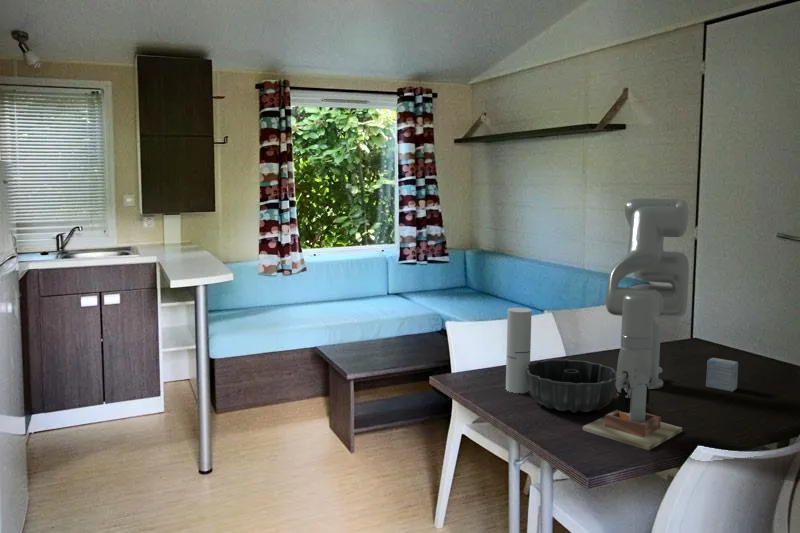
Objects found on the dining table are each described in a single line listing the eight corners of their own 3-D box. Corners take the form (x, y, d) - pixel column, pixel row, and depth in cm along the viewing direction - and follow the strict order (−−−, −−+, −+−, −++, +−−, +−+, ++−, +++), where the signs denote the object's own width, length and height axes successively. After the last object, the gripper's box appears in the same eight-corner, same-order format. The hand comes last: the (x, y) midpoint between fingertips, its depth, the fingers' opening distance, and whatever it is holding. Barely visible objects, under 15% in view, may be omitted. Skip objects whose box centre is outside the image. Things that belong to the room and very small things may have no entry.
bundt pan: (541, 384, 215) (542, 353, 214) (627, 398, 202) (628, 365, 200) (510, 409, 193) (510, 374, 191) (604, 426, 179) (605, 389, 178)
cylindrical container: (529, 394, 205) (531, 312, 202) (505, 392, 207) (507, 311, 203) (529, 387, 212) (531, 308, 209) (506, 385, 214) (508, 307, 210)
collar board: (617, 413, 188) (618, 399, 188) (682, 431, 175) (682, 416, 175) (582, 430, 176) (583, 415, 176) (648, 450, 163) (649, 434, 163)
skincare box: (618, 423, 178) (620, 379, 177) (633, 422, 179) (635, 378, 177) (629, 432, 172) (631, 386, 171) (645, 431, 173) (647, 385, 171)
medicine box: (737, 389, 211) (739, 361, 210) (732, 392, 208) (734, 364, 206) (710, 383, 216) (712, 357, 215) (705, 386, 213) (707, 359, 212)
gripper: (639, 334, 181) (636, 396, 184) (605, 345, 170) (602, 411, 172) (666, 339, 176) (663, 403, 178) (633, 350, 164) (630, 419, 166)
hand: (633, 407), depth 175 cm, fingers open, 9 cm apart
